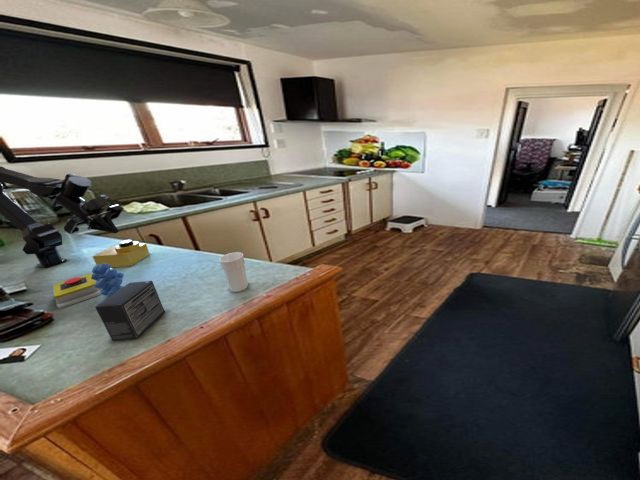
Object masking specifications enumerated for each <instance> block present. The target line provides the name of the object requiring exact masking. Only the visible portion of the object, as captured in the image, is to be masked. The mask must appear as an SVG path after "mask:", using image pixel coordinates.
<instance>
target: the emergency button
mask: <svg viewBox="0 0 640 480" xmlns="http://www.w3.org/2000/svg"><path fill="white" fill-rule="evenodd" d="M92 274H93V273H87V274H84V275H81V276H80V275H79V276H77V277H76V276H75V277H72V278H70V279H67V280H63V281H60V282H57V283H55V284H53V285H52V286H53V297H54V299H55V302H56V307H57V309H63V308H66V307H68V306H72V305H74V304H77V303H80V302H83V301H86V300H89V299H92V298H95V297H97V296H100V295H102V294H101V289H99V288H96V287H95V284H96V282H97V281H98V280H94V279H91V276H92Z"/></svg>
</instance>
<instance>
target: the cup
mask: <svg viewBox="0 0 640 480" xmlns="http://www.w3.org/2000/svg"><path fill="white" fill-rule="evenodd" d="M244 256H245V255H244V254H243V252H240V251H234V252H229V253H226V254H223V255H221V256H220V257H219V258H218V259H219V264H220V266H221V270H222V271H223V273H224V276H225V280H226V281H227V285H228V288H229V291H231V292H232V293H237V292H241V291H244V290H246V289H247V288H248V287H249V283H248V278H247V277H248V276H247V270H246V266H245V265H246V262H245V257H244Z"/></svg>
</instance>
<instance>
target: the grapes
mask: <svg viewBox="0 0 640 480" xmlns="http://www.w3.org/2000/svg"><path fill="white" fill-rule="evenodd" d="M91 274H92V276H91V279H94V280H97V282H96V284H95V287H96V288H99V289H100V292H101V294H100V295H102V296H106V297H107V298H108V297H110V296H111V295H113V294H114V293H116V292H117V291H118V290H120V289H121V288H123V287H124V285H122V284H123V281H124V276H125V273H123V272H120V271H119V270H118V269H115V268H112V267H111V265H108V264H100V265H96V264H95V265H94V266H93V268H92V270H91Z"/></svg>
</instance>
